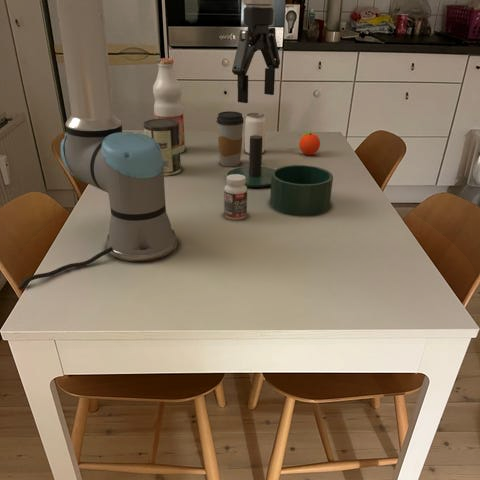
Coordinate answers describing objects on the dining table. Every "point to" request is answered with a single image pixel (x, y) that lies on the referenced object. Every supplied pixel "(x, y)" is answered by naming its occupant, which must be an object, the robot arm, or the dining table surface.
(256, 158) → the pot lid
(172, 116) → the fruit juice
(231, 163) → the coffee cup
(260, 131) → the can
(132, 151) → the robot arm
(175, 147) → the coffee can
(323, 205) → the pot
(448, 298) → the dining table surface
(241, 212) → the pill bottle
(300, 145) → the clementine
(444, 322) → the dining table surface
